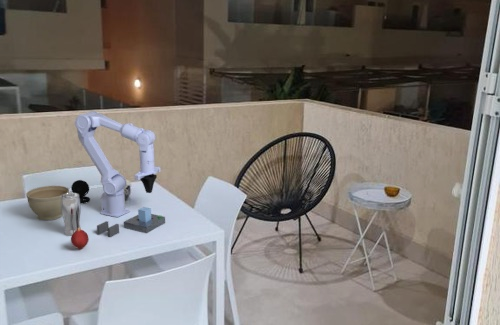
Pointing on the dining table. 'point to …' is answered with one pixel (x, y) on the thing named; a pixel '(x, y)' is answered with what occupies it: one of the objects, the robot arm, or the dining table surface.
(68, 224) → the beer glass
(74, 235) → the red christmas ornament
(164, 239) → the dining table surface
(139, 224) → the port block
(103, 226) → the holster
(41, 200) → the planter bowl
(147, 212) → the plug
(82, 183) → the webcam
